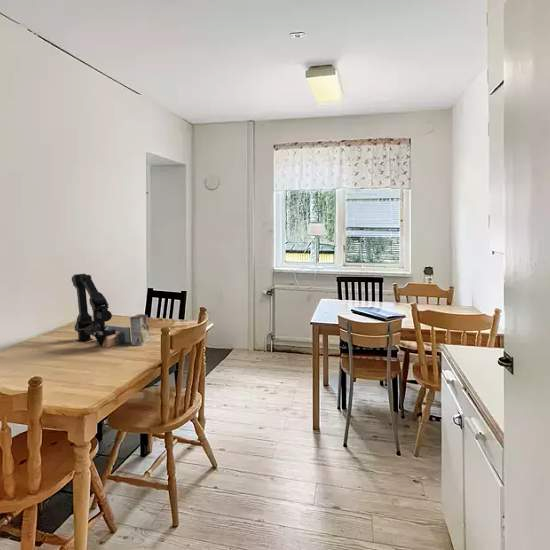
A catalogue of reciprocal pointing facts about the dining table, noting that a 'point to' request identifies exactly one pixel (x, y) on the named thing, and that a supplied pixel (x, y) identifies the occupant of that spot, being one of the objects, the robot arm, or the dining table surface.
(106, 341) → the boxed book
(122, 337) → the bookend
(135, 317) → the coffee box
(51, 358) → the dining table surface
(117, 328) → the shelf
